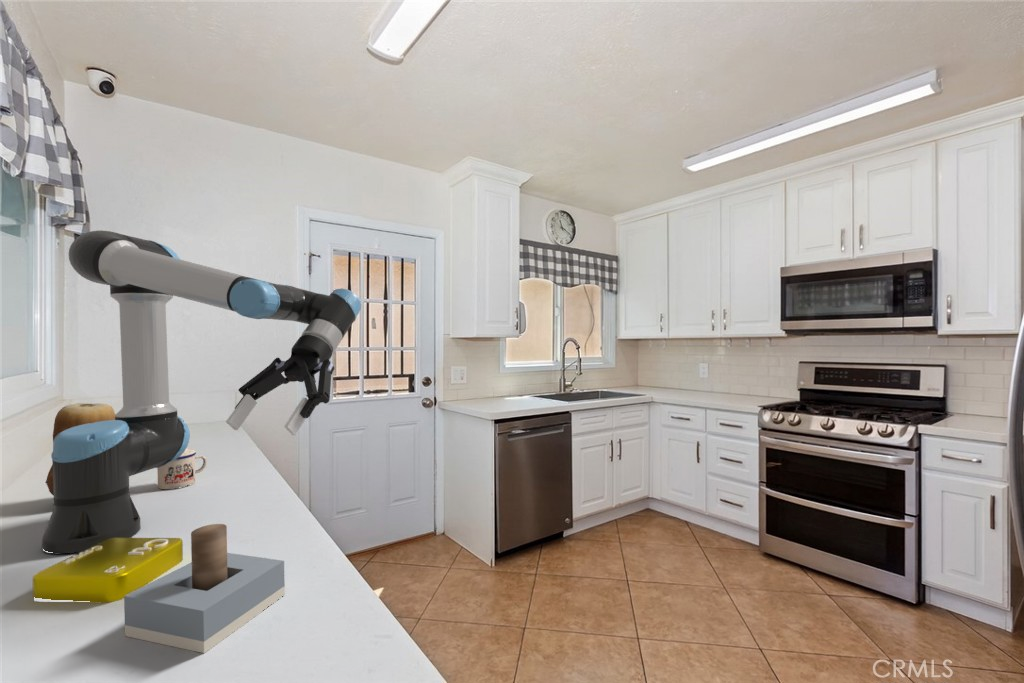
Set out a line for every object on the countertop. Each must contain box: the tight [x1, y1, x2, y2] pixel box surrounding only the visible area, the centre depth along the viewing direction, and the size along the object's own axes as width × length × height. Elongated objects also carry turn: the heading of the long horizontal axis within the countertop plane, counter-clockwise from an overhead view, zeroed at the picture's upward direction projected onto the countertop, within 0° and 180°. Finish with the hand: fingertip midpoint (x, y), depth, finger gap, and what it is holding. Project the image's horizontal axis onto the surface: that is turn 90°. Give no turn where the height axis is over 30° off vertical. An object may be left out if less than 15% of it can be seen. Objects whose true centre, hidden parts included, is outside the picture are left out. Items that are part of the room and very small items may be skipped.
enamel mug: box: [156, 447, 208, 490], centre depth 133 cm, size 12×9×12 cm
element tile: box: [32, 537, 184, 604], centre depth 80 cm, size 15×15×5 cm
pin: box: [190, 523, 228, 591], centre depth 69 cm, size 4×4×11 cm
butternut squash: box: [45, 402, 116, 497], centre depth 120 cm, size 14×13×25 cm
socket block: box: [123, 552, 286, 654], centre depth 69 cm, size 14×14×6 cm
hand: (259, 428), depth 86 cm, fingers open, 13 cm apart
